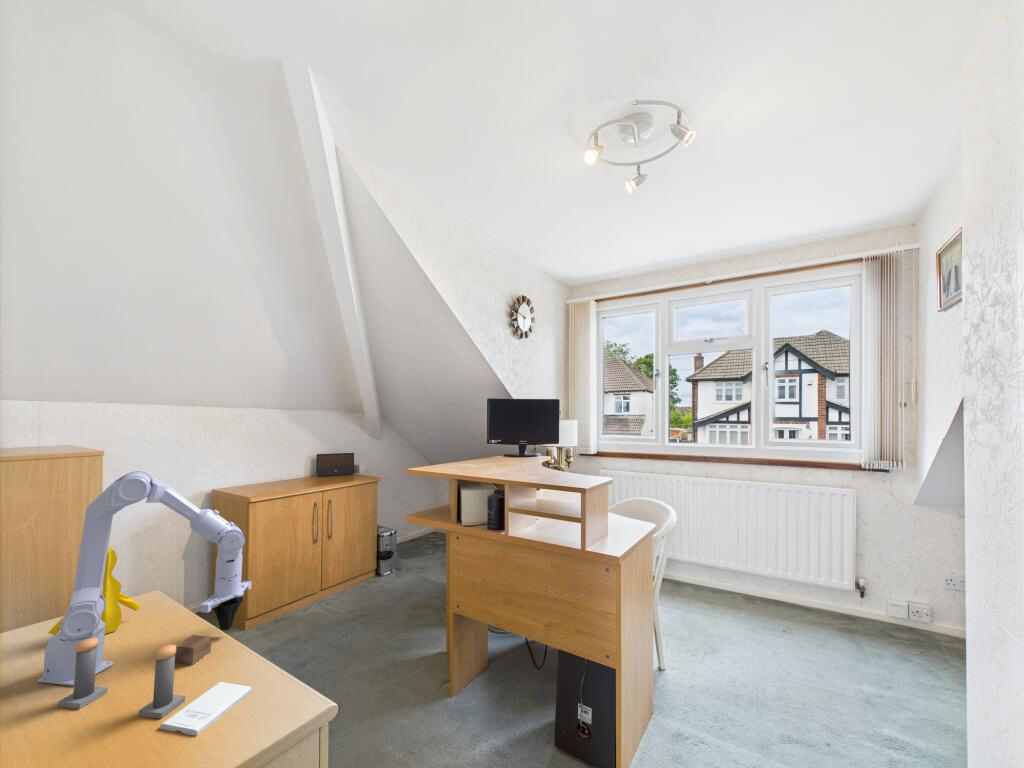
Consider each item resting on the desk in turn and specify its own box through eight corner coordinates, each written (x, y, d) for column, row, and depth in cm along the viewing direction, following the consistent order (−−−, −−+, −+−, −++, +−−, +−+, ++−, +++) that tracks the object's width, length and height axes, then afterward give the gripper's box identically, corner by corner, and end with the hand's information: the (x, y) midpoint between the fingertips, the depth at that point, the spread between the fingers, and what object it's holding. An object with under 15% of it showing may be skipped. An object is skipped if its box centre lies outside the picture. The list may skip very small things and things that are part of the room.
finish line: (58, 706, 84) (62, 647, 85) (86, 690, 89) (90, 634, 90) (161, 718, 81) (165, 657, 82) (185, 701, 86) (188, 643, 87)
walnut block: (173, 664, 99) (174, 646, 99) (191, 652, 104) (192, 635, 104) (192, 665, 98) (193, 647, 99) (210, 653, 103) (211, 636, 103)
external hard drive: (251, 695, 89) (196, 739, 77) (218, 689, 91) (159, 731, 79) (252, 686, 89) (197, 729, 77) (219, 681, 91) (160, 722, 79)
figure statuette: (136, 616, 121) (141, 536, 122) (147, 624, 117) (152, 541, 118) (44, 645, 106) (52, 553, 107) (53, 655, 102) (60, 560, 103)
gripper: (220, 586, 104) (217, 644, 103) (262, 565, 119) (259, 616, 118) (194, 585, 105) (190, 642, 104) (239, 564, 119) (236, 614, 119)
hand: (225, 628), depth 111 cm, fingers closed
